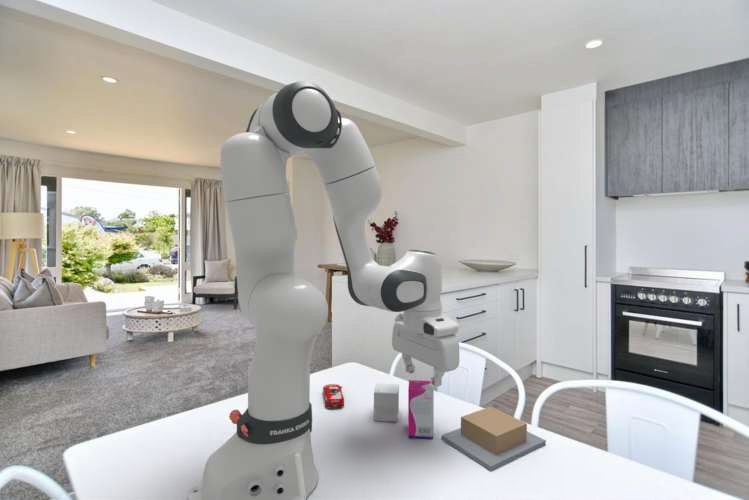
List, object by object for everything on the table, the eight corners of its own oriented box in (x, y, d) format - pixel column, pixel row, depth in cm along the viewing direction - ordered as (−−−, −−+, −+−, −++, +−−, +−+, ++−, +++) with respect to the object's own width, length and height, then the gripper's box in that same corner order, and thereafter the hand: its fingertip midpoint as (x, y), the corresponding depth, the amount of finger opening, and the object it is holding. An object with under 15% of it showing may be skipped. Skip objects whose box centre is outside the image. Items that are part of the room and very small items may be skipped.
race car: (322, 391, 115) (322, 378, 115) (340, 390, 116) (340, 377, 116) (324, 411, 102) (324, 396, 102) (345, 410, 103) (345, 395, 103)
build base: (490, 471, 77) (491, 446, 77) (441, 439, 88) (441, 417, 88) (545, 444, 87) (546, 422, 86) (494, 419, 98) (495, 399, 98)
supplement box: (432, 426, 94) (433, 380, 94) (433, 439, 88) (434, 390, 88) (408, 425, 95) (408, 379, 94) (407, 438, 89) (408, 388, 88)
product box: (397, 422, 96) (398, 393, 96) (373, 421, 97) (373, 392, 97) (399, 411, 102) (399, 383, 102) (375, 410, 103) (376, 382, 103)
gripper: (385, 313, 97) (386, 368, 98) (442, 331, 80) (442, 397, 81) (405, 310, 101) (406, 363, 102) (464, 326, 84) (464, 390, 85)
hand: (422, 378), depth 91 cm, fingers open, 8 cm apart
